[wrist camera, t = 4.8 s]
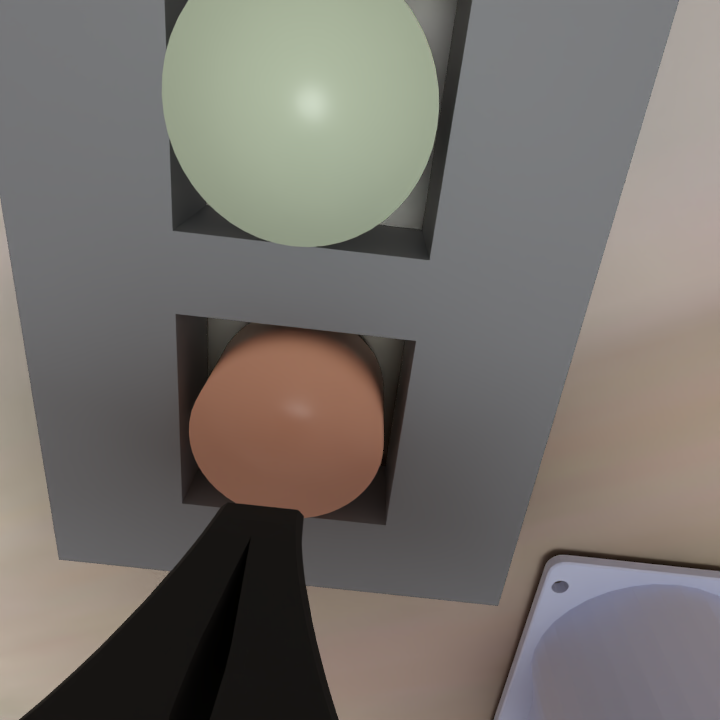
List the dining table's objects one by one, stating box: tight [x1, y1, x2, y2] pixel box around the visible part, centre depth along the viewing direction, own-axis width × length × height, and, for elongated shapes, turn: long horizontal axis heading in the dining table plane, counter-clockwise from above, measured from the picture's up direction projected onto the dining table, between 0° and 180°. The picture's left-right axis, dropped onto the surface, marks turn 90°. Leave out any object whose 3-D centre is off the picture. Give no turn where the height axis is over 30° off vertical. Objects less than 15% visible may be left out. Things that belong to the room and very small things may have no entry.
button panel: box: [0, 0, 679, 606], centre depth 12 cm, size 24×12×2 cm, turn 174°
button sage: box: [162, 0, 439, 247], centre depth 10 cm, size 4×4×2 cm
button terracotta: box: [189, 322, 384, 518], centre depth 14 cm, size 4×4×2 cm
